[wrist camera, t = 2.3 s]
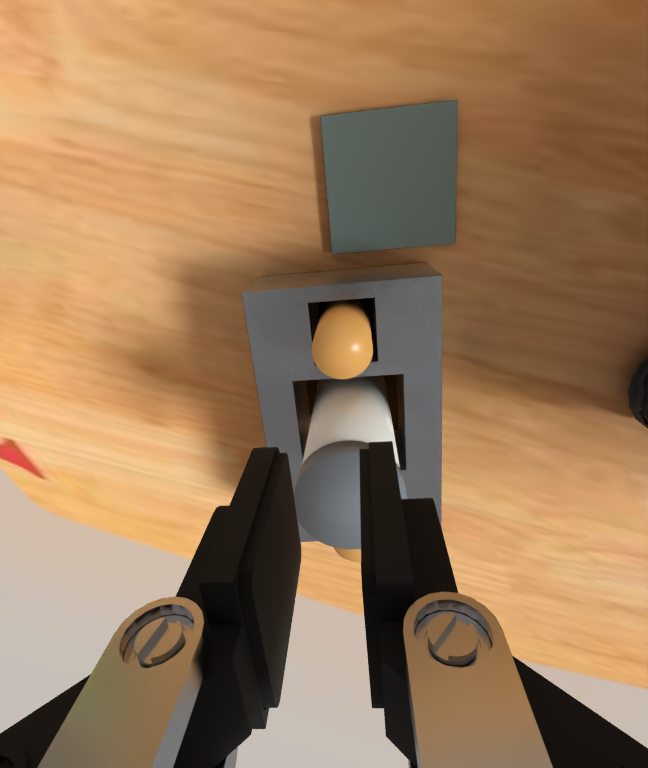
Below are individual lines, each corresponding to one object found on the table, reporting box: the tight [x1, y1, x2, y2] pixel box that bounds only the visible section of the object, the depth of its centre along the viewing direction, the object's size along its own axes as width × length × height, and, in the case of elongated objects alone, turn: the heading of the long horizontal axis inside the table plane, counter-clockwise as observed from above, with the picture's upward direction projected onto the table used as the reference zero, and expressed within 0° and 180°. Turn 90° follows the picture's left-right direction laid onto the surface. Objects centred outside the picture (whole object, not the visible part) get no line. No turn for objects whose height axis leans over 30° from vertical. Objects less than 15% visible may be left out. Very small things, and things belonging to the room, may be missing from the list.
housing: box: [242, 262, 442, 542], centre depth 28 cm, size 16×10×5 cm, turn 5°
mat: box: [321, 100, 457, 254], centre depth 25 cm, size 7×7×1 cm
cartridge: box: [294, 375, 407, 549], centre depth 25 cm, size 5×5×12 cm
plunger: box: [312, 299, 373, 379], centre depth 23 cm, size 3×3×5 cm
